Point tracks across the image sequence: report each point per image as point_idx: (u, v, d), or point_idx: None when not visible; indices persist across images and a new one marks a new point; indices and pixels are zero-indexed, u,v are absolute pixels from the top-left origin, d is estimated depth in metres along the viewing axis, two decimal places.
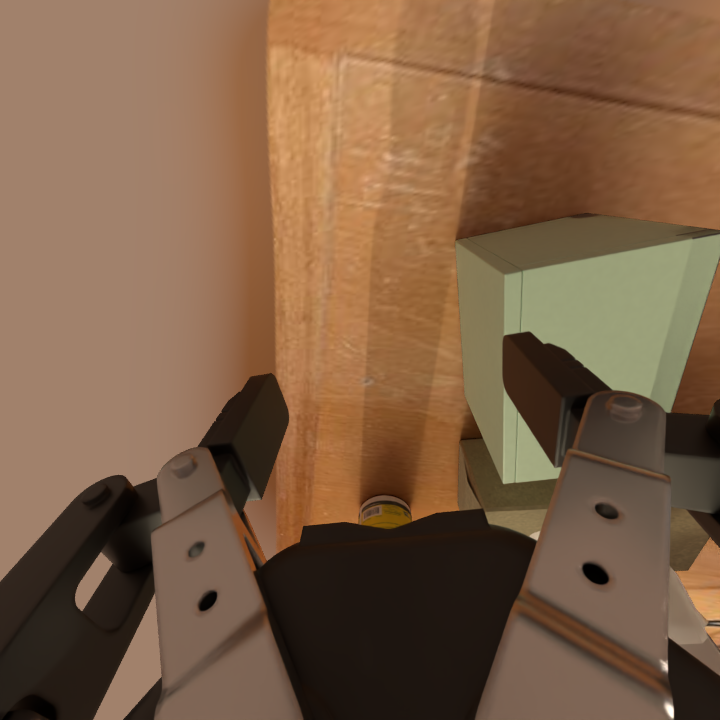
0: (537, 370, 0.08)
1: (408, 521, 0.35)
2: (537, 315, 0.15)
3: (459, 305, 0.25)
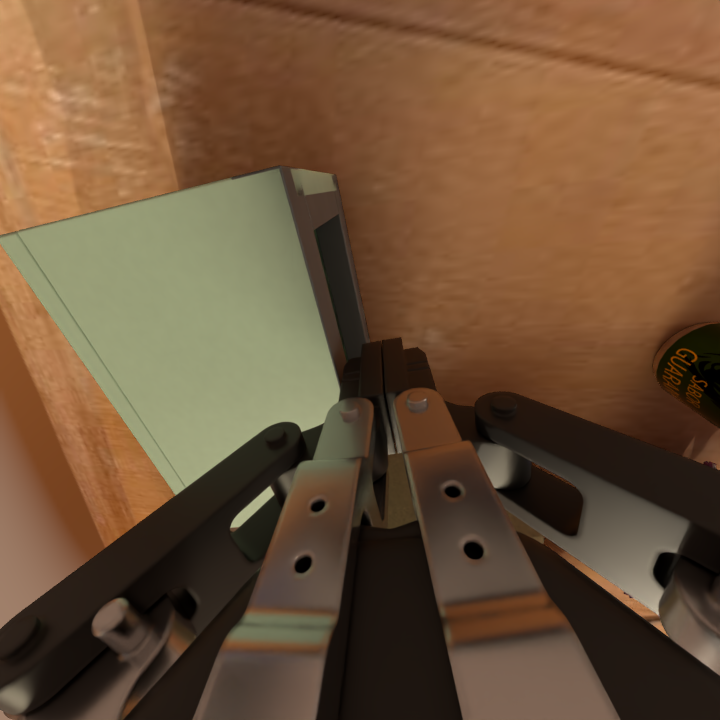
0: (384, 371, 0.10)
1: None
2: (85, 303, 0.10)
3: None
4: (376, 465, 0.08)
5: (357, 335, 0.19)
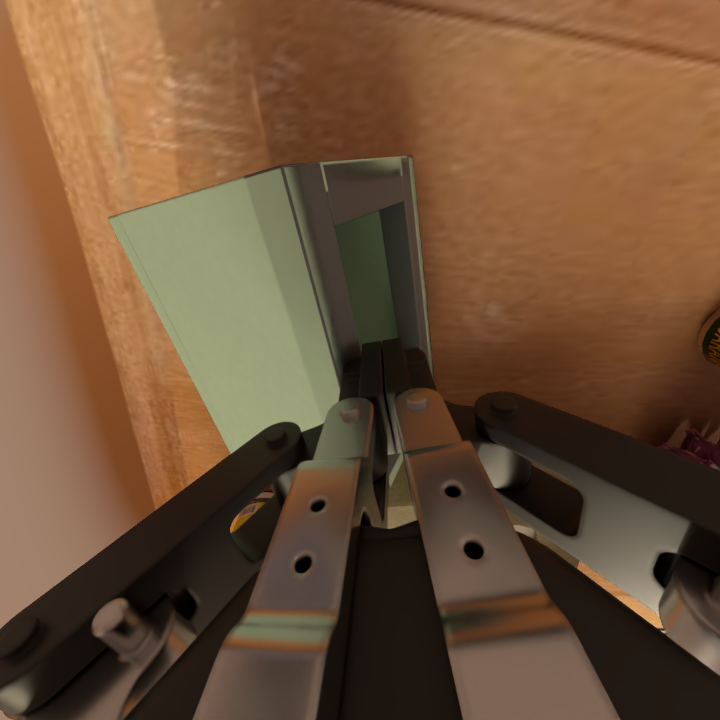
0: (384, 371, 0.10)
1: None
2: (158, 275, 0.13)
3: None
4: (376, 465, 0.08)
5: (412, 330, 0.18)
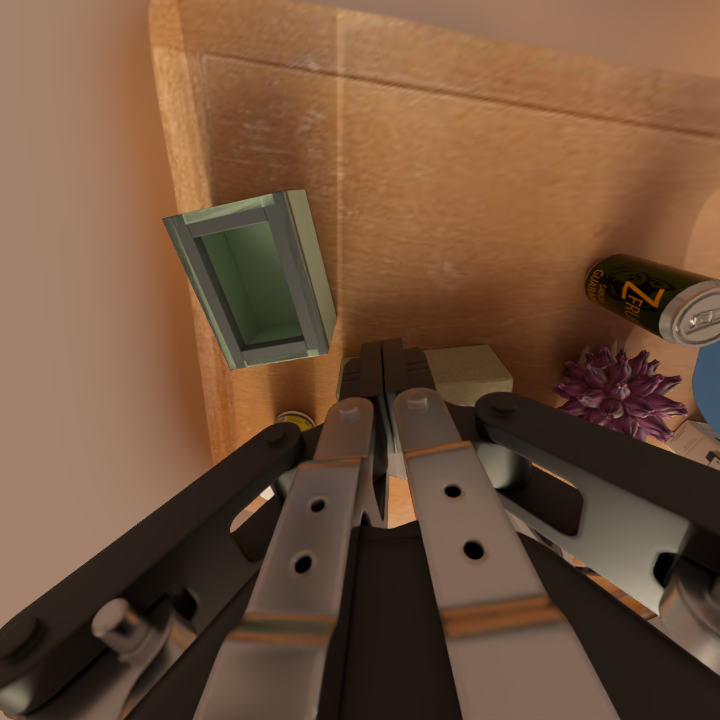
0: (384, 371, 0.10)
1: (307, 428, 0.43)
2: None
3: None
4: (376, 465, 0.08)
5: None
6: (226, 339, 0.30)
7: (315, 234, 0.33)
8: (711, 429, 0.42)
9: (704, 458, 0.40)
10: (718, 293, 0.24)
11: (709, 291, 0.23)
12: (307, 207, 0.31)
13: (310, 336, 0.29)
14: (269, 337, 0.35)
